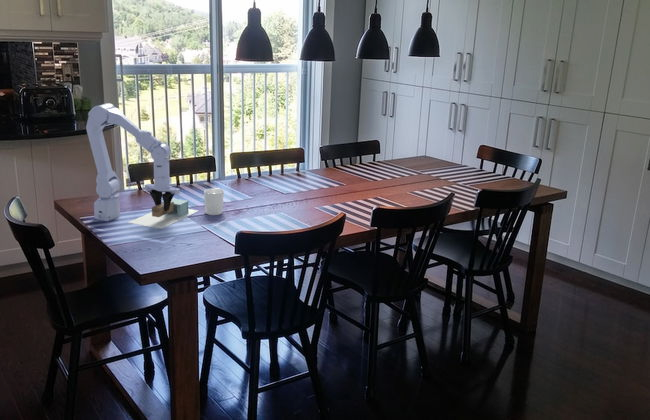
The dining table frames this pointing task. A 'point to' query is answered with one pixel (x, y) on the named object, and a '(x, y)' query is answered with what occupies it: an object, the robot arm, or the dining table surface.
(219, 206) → the white cup
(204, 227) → the dining table surface
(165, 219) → the board
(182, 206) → the teal block
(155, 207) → the slat
